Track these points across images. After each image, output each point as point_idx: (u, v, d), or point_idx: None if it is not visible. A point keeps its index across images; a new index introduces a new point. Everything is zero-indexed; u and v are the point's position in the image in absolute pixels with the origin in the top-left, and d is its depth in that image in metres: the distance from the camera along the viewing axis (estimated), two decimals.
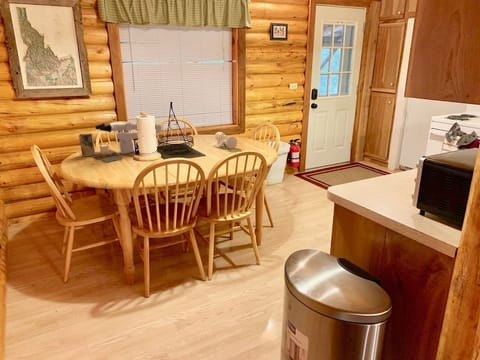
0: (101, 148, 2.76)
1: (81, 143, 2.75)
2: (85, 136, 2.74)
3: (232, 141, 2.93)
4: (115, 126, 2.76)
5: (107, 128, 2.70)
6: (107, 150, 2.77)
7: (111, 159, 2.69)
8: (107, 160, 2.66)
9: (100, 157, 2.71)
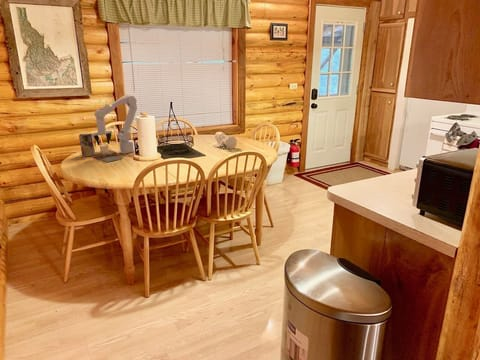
0: (101, 148, 2.76)
1: (81, 143, 2.75)
2: (85, 136, 2.74)
3: (231, 141, 2.93)
4: (97, 128, 2.71)
5: None
6: (107, 150, 2.77)
7: (111, 159, 2.69)
8: (107, 160, 2.66)
9: (100, 157, 2.71)
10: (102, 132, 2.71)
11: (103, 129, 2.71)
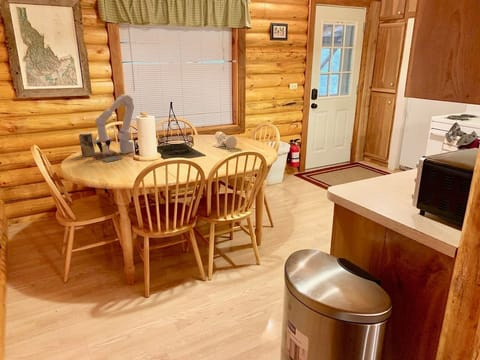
0: None
1: (81, 143, 2.75)
2: (85, 136, 2.74)
3: (231, 141, 2.94)
4: (98, 135, 2.73)
5: None
6: (107, 150, 2.77)
7: (111, 159, 2.69)
8: (107, 160, 2.66)
9: (100, 157, 2.71)
10: (103, 139, 2.73)
11: (104, 136, 2.73)
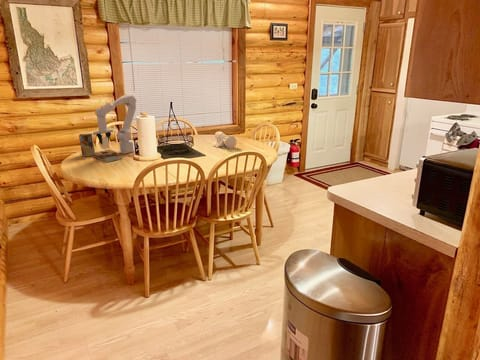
0: None
1: (81, 143, 2.75)
2: (85, 136, 2.74)
3: (231, 141, 2.94)
4: None
5: None
6: (107, 142, 2.73)
7: (111, 159, 2.69)
8: (107, 160, 2.66)
9: (100, 157, 2.71)
10: (103, 131, 2.68)
11: (104, 128, 2.68)
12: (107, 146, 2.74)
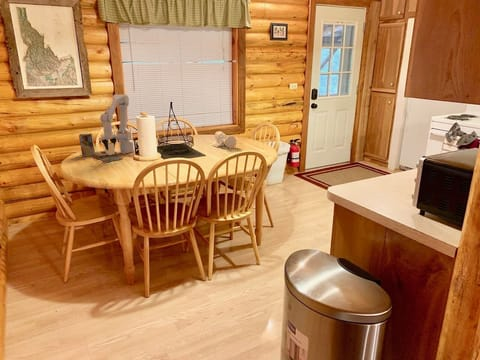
0: None
1: (81, 143, 2.75)
2: (85, 136, 2.74)
3: (231, 140, 2.94)
4: (104, 132, 2.62)
5: None
6: (113, 148, 2.67)
7: (111, 159, 2.69)
8: (107, 160, 2.66)
9: (100, 157, 2.71)
10: (109, 136, 2.62)
11: (110, 133, 2.62)
12: (113, 152, 2.68)
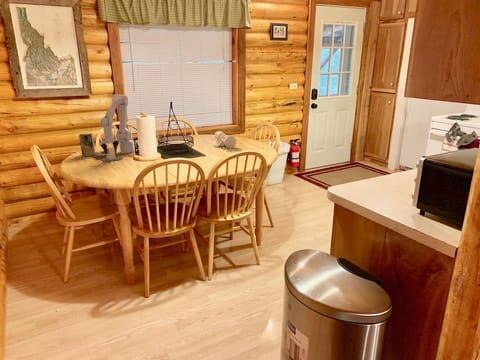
0: (107, 151, 2.66)
1: (81, 143, 2.75)
2: (85, 136, 2.74)
3: (230, 140, 2.95)
4: (104, 136, 2.63)
5: None
6: (113, 153, 2.68)
7: None
8: (107, 160, 2.66)
9: (100, 157, 2.71)
10: (110, 140, 2.63)
11: (111, 137, 2.63)
12: (113, 157, 2.69)
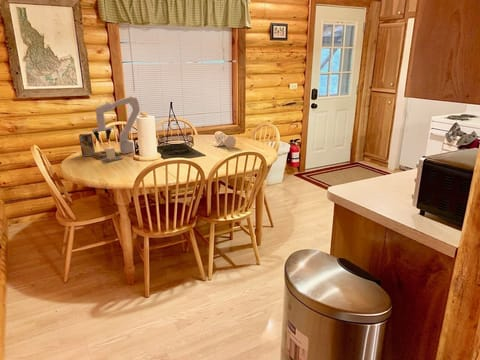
0: (107, 151, 2.66)
1: (81, 143, 2.75)
2: (85, 136, 2.74)
3: (230, 140, 2.95)
4: (97, 124, 2.76)
5: None
6: (113, 153, 2.68)
7: None
8: (107, 160, 2.66)
9: (100, 157, 2.71)
10: (102, 128, 2.76)
11: (103, 125, 2.76)
12: (113, 157, 2.69)
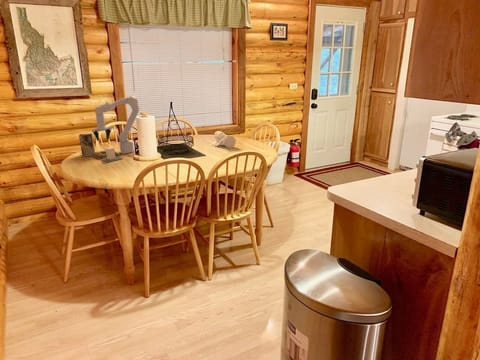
0: (107, 151, 2.66)
1: (81, 143, 2.75)
2: (85, 136, 2.74)
3: (230, 140, 2.96)
4: (97, 124, 2.78)
5: None
6: (113, 153, 2.68)
7: None
8: (107, 160, 2.66)
9: (100, 157, 2.71)
10: (102, 128, 2.77)
11: (102, 125, 2.77)
12: (113, 157, 2.69)
